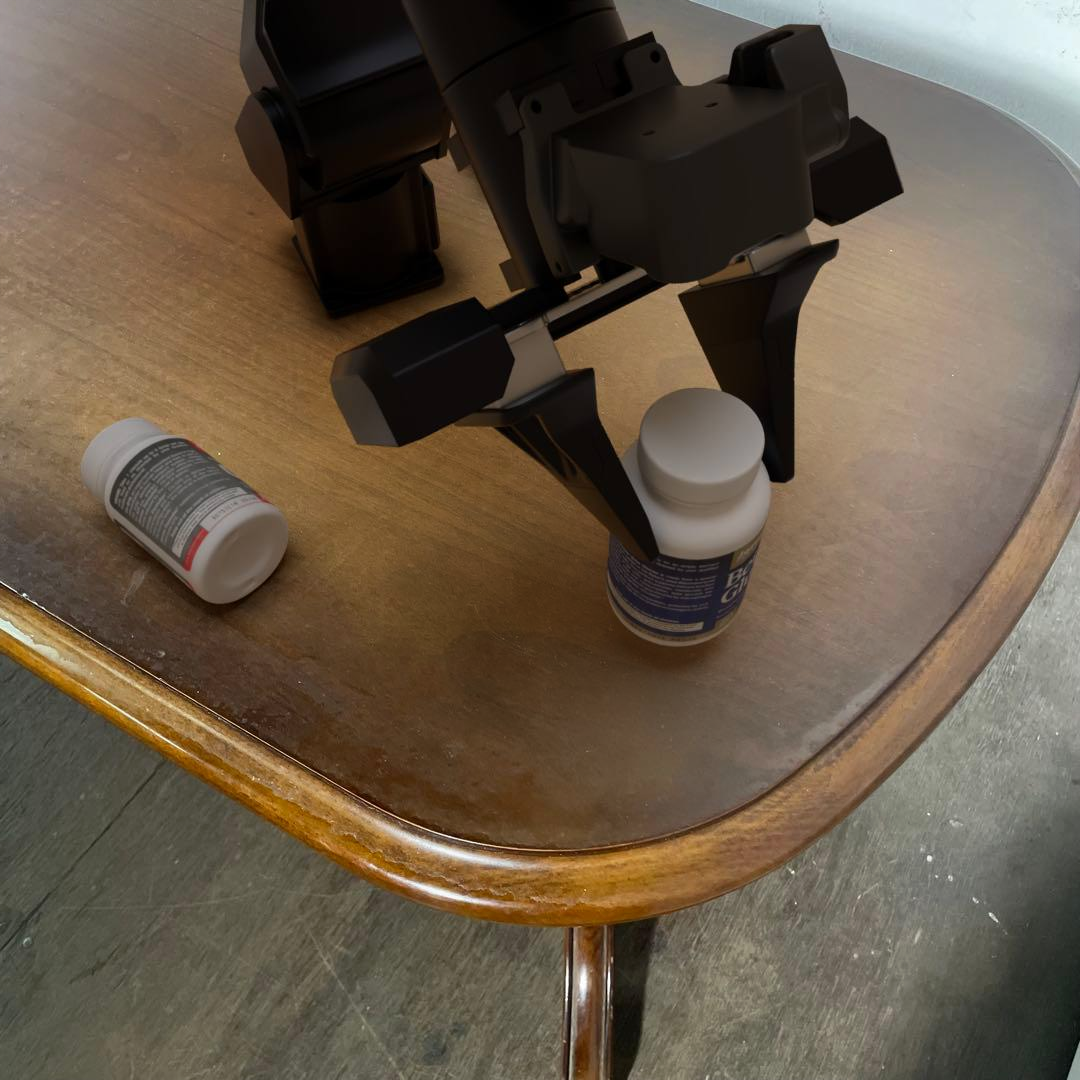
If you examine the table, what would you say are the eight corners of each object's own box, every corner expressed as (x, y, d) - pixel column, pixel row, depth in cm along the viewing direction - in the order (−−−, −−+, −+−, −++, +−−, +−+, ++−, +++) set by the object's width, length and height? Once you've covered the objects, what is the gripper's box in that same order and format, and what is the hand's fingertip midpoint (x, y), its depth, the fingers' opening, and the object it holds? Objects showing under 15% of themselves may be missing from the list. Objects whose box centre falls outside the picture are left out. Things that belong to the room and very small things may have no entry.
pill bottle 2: (735, 662, 40) (780, 515, 32) (594, 637, 40) (603, 487, 32) (748, 544, 43) (793, 381, 35) (617, 523, 43) (631, 359, 35)
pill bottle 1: (294, 491, 43) (165, 391, 46) (196, 542, 40) (65, 432, 43) (291, 573, 46) (170, 474, 49) (201, 626, 43) (78, 518, 46)
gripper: (290, 82, 21) (593, 728, 25) (955, -170, 27) (1115, 394, 31) (228, 194, 31) (451, 641, 36) (718, -5, 37) (862, 401, 41)
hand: (717, 519), depth 35 cm, fingers closed on pill bottle 2, 5 cm apart
